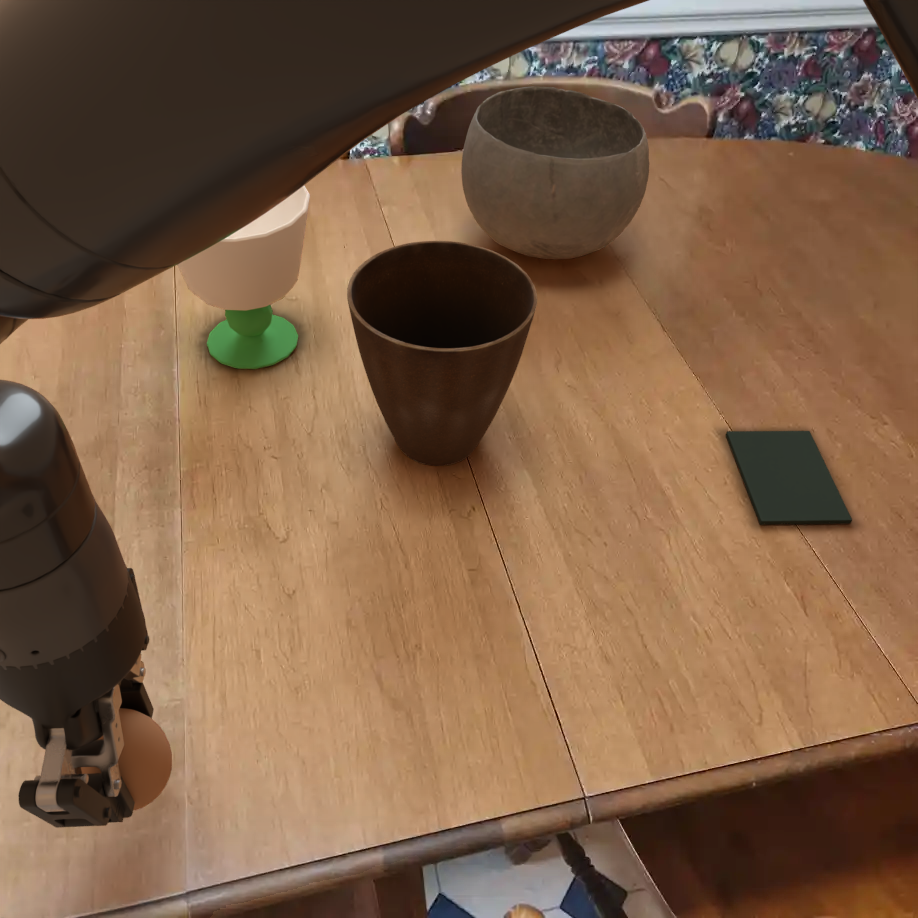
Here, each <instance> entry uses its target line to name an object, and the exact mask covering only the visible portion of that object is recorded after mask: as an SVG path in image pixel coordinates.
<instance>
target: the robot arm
mask: <svg viewBox="0 0 918 918" xmlns="http://www.w3.org/2000/svg"><path fill="white" fill-rule="evenodd" d="M649 1H650V0H0V345H1V344H2V343H3V342H5V341H6V340H7V339H8V338H9V337H10V336H11V335H12V334H13V333H14V332H15V331H17V330H18V329H19V328H20V327H21V326H22V325H23V324H25V323H26V322H27V321H28V320H44V319H51V318H52V319H53V318H59V317H63V316H67V315H72V314H75V313H78V312H81V311H85V310H87V309H90V308H93V307H95V306H97V305H100V304H102V303H105V302H107V301H109V300H111V299H114V298H115V297H117V296H120V295H121V294H124V293H125V292H127V291H129V290H131V289H133V288H134V287H138V286H139V285H141V284H143V283H145V282H146V281H148V280H150V279H152V278H154V277H156V276H158V275H160V274H162V273H164V272H166V271H167V270H170V269H172V268H173V267H176V266H178V265H177V264H179V263H181V262H183V261H185V260H187V259H189V258H191V257H193V256H195V255H196V254H198V253H200V252H202V251H204V250H206V249H207V248H209V247H211V246H213V245H214V244H216V243H218V242H220V241H221V240H223V239H225V238H227V237H228V236H230V235H232V234H233V233H235V232H237V231H238V230H240V229H242V228H243V227H245V226H246V225H248V224H250V223H251V222H253V221H254V220H256V219H257V218H259V217H260V216H262V215H263V214H265V213H266V212H268V211H269V210H271V209H272V208H274V207H275V206H277V205H278V204H279V203H281V202H282V201H284V200H285V199H286V198H288V197H289V196H290V195H292V194H293V193H295V192H296V191H297V190H299V189H300V188H301V187H303V186H305V185H307V184H308V183H309V182H311V181H312V180H313V179H315V178H316V177H317V176H318V175H320V174H321V173H322V172H323V171H325V170H326V169H328V167H330V166H331V165H332V164H335V162H337V161H338V160H339V159H341V158H342V157H343V156H345V155H346V154H347V153H349V152H350V151H351V150H352V149H354V148H355V147H357V146H358V145H359V144H361V143H362V142H363V141H365V140H366V139H368V138H369V137H371V136H372V135H373V134H375V133H377V132H378V131H379V130H381V129H382V128H384V127H386V126H387V125H389V124H390V123H391V122H393V121H394V120H396V119H397V118H399V117H400V116H402V115H403V114H405V113H407V112H409V111H410V110H412V109H414V108H416V107H417V106H419V105H421V104H423V103H425V102H426V101H428V100H430V99H431V98H433V97H435V96H437V95H438V94H441V93H442V92H444V91H445V90H448V89H449V88H451V87H452V86H454V85H457V84H459V83H460V82H463V81H465V80H466V79H469V78H470V77H472V76H474V75H476V74H478V73H480V72H482V71H484V70H486V69H488V68H490V67H492V66H494V65H496V64H498V63H501V62H502V61H505V60H506V59H509V58H511V57H513V56H515V55H517V54H520V53H521V52H523V51H525V50H528V49H530V48H532V47H534V46H536V45H539V44H541V43H543V42H546V41H549V40H550V39H552V38H555V37H557V36H559V35H561V34H564V33H566V32H569V31H571V30H574V29H576V28H578V27H581V26H584V25H585V24H588V23H591V22H594V21H597V20H598V19H601V18H603V17H606V16H608V15H609V16H610V15H612V14H614V13H617V12H621V11H623V10H626V9H629V8H631V7H634V6H637V5H640V4H643V3H646V2H649ZM862 2H863V4H864V5H865V7H866V8H867V10H868V12H869V13H870V15H871V17H872V18H873V20H874V22H875V24H876V26H877V28H878V29H879V31H880V33H881V35H882V37H883V39H884V40H885V42H886V44H887V45H888V46H887V47H889V49H890V51H891V53H892V55H893V57H894V58H895V60H896V62H897V64H898V66H899V68H900V69H901V71H902V73H903V75H904V77H905V79H906V80H907V82H908V84H909V86H910V87H911V89H912V92H913V94H914V95H915V97H916V98H917V100H918V0H862ZM149 643H150V636H149V633H148V628H147V623H146V617H145V612H144V610H143V606H142V602H141V598H140V594H139V589H138V585H137V579H136V575H135V572H134V569H133V568H132V567H127V564H126V562H125V560H124V557H123V554H122V551H121V548H120V546H119V544H118V541H117V538H116V535H115V533H114V530H113V528H112V525H111V524H110V522H109V520H108V518H107V517H106V515H105V514H104V511H103V510H102V509H101V507H100V506H99V504H98V502H97V501H96V498H95V497H94V494H93V491H92V489H91V487H90V484H89V482H88V479H87V476H86V474H85V471H84V468H83V465H82V463H81V460H80V458H79V455H78V452H77V449H76V447H75V444H74V442H73V439H72V437H71V435H70V432H69V430H68V428H67V425H66V424H65V422H64V419H63V418H62V416H61V415H60V413H59V411H58V410H57V408H56V407H55V406H54V405H53V404H52V403H51V401H49V399H47V397H45V395H43V394H42V393H40V392H39V391H37V390H36V389H34V388H33V387H30V386H28V385H25V384H23V383H20V382H16V381H12V380H8V379H0V701H2V702H3V703H4V704H6V705H7V706H9V707H11V708H12V709H15V710H17V711H18V712H20V713H22V714H23V715H26V716H27V717H28V718H30V719H31V720H32V724H33V729H34V736H35V740H36V743H37V744H38V746H39V747H40V748H41V749H43V750H45V751H44V757H43V762H42V766H41V771H40V775H35V777H34V779H28V780H27V779H25V780H23V781H22V782H21V785H20V787H19V791H18V794H17V795H18V805H19V807H20V808H21V809H23V810H24V811H26V812H28V813H29V814H32V815H33V816H34V817H37V818H38V819H40V820H42V821H44V822H46V823H47V824H49V825H51V826H53V827H54V828H57V829H59V828H74V827H75V828H78V827H79V828H81V827H103V826H105V827H106V826H107V825H108V824H112V823H114V824H115V823H123V822H124V819H128V818H131V817H132V816H133V814H134V811H133V809H134V804H135V802H134V800H133V798H132V796H131V794H130V792H129V790H128V788H127V786H126V784H125V782H124V780H123V778H122V776H120V771H119V766H118V759H119V757H120V754H121V752H122V749H123V747H124V739H123V733H122V728H121V722H120V716H119V708H125V709H132V710H135V711H138V712H140V713H143V714H145V715H146V716H148V717H150V718H152V719H153V715H154V709H155V708H154V706H153V704H152V702H151V701H152V700H151V698H150V696H149V694H148V692H147V689H146V687H145V685H144V679H145V676H146V674H147V671H146V670H147V669H146V667H145V663H144V661H143V660H142V651H147V649H148V645H149ZM102 736H103V737H104V739H101V740H97V739H99V738H101V737H102ZM81 767H97V768H99V769H100V770H101V773H91V774H82V770H81Z"/></svg>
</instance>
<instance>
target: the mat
mask: <svg viewBox="0 0 918 918" xmlns="http://www.w3.org/2000/svg"><path fill="white" fill-rule="evenodd" d="M725 437H726V440H727V442H728V445H729V448H730V451H731V453H732V456H733V458H734V461H735V463H736V466H737V469H738V471H739V475H740V477H741V480H742V482H743V485H744V487H745V489H746V492H747V495H748V497H749V501H750V502H751V505H752V508H753V510H754V513H755V516H756V518H757V521H758V523H759V525H760V526H763V525H764V526H771V525H772V526H773V525H774V526H775V525H776V526H777V525H778V526H779V525H780V526H781V525H836V524H837V525H841V524H842V525H845V524H846V525H847V524H848V525H849V524H851V523H852V522H853V518H852V516H851V514H850V512H849V509H848V508H847V506H846V504H845V501H844V500H843V498H842V495H841V493H840V491H839V489H838V486H837V484H836V483H835V481H834V479H833V477H832V474H831V473H830V470H829V469H828V466H827V464H826V462H825V460H824V458H823V455H822V454H821V452H820V448H819V447H818V445H817V443H816V441H815V439H814V437H813V434H812V433H811V430H752V431H751V430H750V431H749V430H736V431H735V430H732V431H731V430H730V431H728V430H727V431H726V433H725Z"/></svg>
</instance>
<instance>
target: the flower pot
mask: <svg viewBox="0 0 918 918" xmlns="http://www.w3.org/2000/svg"><path fill="white" fill-rule="evenodd" d="M346 299H347V305H348V309H349V314H350V318H351V322H352V327H353V332H354V336H355V340H356V344H357V347H358V351H359V355H360V358H361V362H362V364H363V369H364V372H365V375H366V378H367V380H368V383H369V386H370V388H371V391H372V394H373V396H374V399H375V401H376V404H377V406H378V408H379V411H380V414H381V416H382V418H383V419H384V422H385V424H386V425H387V428H388V430H389V431H390V433H391V435H392V437H393V439H394V441H395V443H396V445H397V446H398V448H399V449H400V451H401V452H402V453H403V454H404V455H405V456H406V457H408V458H409V459H411V460H413V461H415V462H417V463H420V464H423V465H427V466H431V467H433V466H435V467H442V466H443V467H444V466H450V465H453V464H457V463H459V462H462V461H464V460H465V459H466V458H468V457H469V456H471V454H473V452H474V451H475V449H476V448H477V447H478V445H479V443H480V442H481V440H482V439H483V437H484V436H485V434H486V433H487V431H488V429H489V428H490V426H491V424H492V422H493V421H494V418H495V416H496V415H497V413H498V411H499V409H500V407H501V405H502V403H503V401H504V399H505V397H506V394H507V393H508V390H509V388H510V386H511V383H512V381H513V378H514V376H515V374H516V371H517V368H518V366H519V364H520V361H521V357H522V355H523V352H524V349H525V346H526V343H527V339H528V336H529V333H530V329H531V326H532V323H533V320H534V317H535V312H536V309H537V306H538V305H537V304H538V294H537V290H536V287H535V284H534V281H532V278H531V277H530V276H529V275H528V273H527V272H526V271H525V270H524V268H522V267H521V266H519V265H518V264H517V263H516V262H514V261H513V260H511V259H510V258H508V257H506V256H505V255H503V254H501V253H498V252H496V251H494V250H492V249H488V248H485V247H483V246H479V245H475V244H471V243H465V242H461V241H452V240H451V241H450V240H423V241H414V242H407V243H403V244H399V245H395V246H392V247H389V248H387V249H384V250H382V251H379V252H377V253H376V254H374V255H372V256H370V257H369V258H368V259H366V260H364V261H363V262H362V263H361V264H360V265H359V266H357V268H356V269H355V270H354V271H353V273H352V274H351V277H350V279H349V281H348V284H347V288H346Z"/></svg>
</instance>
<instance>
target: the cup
mask: <svg viewBox="0 0 918 918" xmlns="http://www.w3.org/2000/svg"><path fill="white" fill-rule="evenodd" d="M310 199H311V194H310V192H309V191H308V189H307V187H306V186H305V185H304V186H303V187H301V188H300V189H299V190H297V191H296V192H295V193H293V194H292V195H290V196H289V197H288V198H286V199H285V200H284V201H282V202H281V203H279V204H278V205H277V206H275V207H274V208H272V209H271V210H269V211H268V212H266V213H265V214H263V215H262V216H260V217H259V218H257V219H256V220H254V221H253V222H251V223H250V224H248V225H246V226H245V227H243V228H242V229H240V230H238V231H237V232H235V233H233V234H232V235H230V236H228V237H227V238H225V239H223V240H221V241H220V242H218V243H216V244H214V245H213V246H211V247H209V248H207V249H206V250H204V251H202V252H200V253H198V254H196V255H195V256H193V257H191V258H189V259H187V260H185V261H183V262H181V263H179V264H177V265H176V266H177V267H178V269H179V271H180V273H181V276H182V278H183V280H184V282H185V284H186V287H187V288H188V290H189V291H190V292H191V293H192V294H193V295H194V296H196V297H197V298H199V299H200V300H201V301H202V302H204V303H205V304H206V305H208V306H211V307H215V308H218V309H221V310H224V317H225V319H224V320H222V321H220V322H219V323H218V324H217V325H216V326H215V327H214V328H213V329H212V330H211V331H210V332H209V335H208V336H207V342H206V346H207V350H208V352H209V355H210V356H211V357H212V358H214V359H215V360H216V361H217V362H219V364H222V365H225V366H228V367H231V368H235V369H237V370H238V369H239V370H241V369H242V370H243V369H244V370H257V369H262V368H266V367H270V366H271V367H272V366H274V365H276V364H278V363H280V362H281V361H284V360H286V359H287V358H289V356H290V355H291V354H292V353H293V352H294V351H295V349H296V348H297V346H298V341H299V334H298V331H297V330H296V328H295V326H294V324H293V323H291V322H290V321H288V320H287V319H286V318H284V317H283V316H279V315H275V314H274V313H273V312H274V311H273V308H272V306H271V305H272V304H274V303H277V302H279V301H281V300H282V299H284V297H286V296H287V295H288V293H290V291H292V289H293V288H294V286H295V285H296V283H297V282H298V280H299V277H300V276H299V275H300V270H301V264H302V259H303V258H302V257H303V250H304V242H305V235H306V229H307V221H308V214H309V213H308V212H309V206H310Z"/></svg>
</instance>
